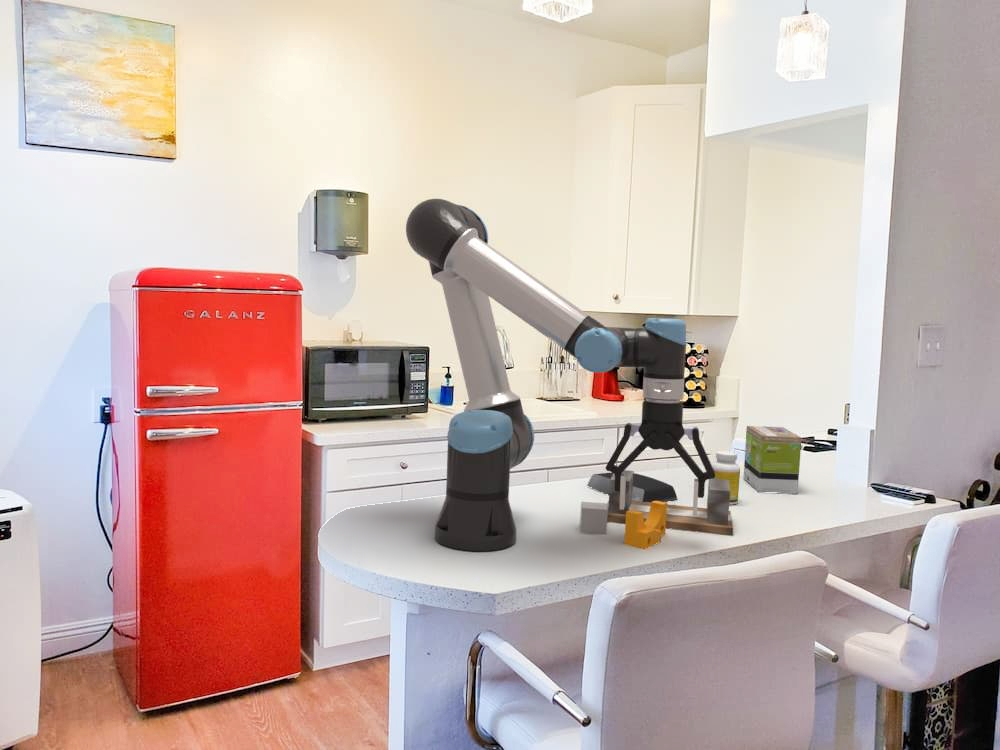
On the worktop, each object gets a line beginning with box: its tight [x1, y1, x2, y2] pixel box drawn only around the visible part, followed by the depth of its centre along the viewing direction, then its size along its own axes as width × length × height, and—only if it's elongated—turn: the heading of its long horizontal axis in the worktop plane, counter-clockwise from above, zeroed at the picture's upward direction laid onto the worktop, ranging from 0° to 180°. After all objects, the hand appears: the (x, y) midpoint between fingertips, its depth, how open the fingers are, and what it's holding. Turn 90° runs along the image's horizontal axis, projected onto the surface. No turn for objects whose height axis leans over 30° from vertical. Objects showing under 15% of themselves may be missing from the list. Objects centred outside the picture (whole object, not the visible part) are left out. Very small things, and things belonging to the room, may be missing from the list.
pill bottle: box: [711, 450, 741, 506], centre depth 185 cm, size 6×6×12 cm
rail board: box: [606, 469, 734, 536], centre depth 167 cm, size 26×14×8 cm, turn 76°
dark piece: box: [586, 472, 679, 503], centre depth 190 cm, size 13×19×4 cm
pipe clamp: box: [623, 501, 668, 550], centre depth 152 cm, size 12×4×6 cm, turn 142°
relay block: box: [579, 501, 608, 535], centre depth 157 cm, size 5×5×5 cm
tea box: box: [743, 425, 802, 495], centre depth 203 cm, size 15×10×15 cm, turn 178°
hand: (658, 511), depth 151 cm, fingers open, 13 cm apart
